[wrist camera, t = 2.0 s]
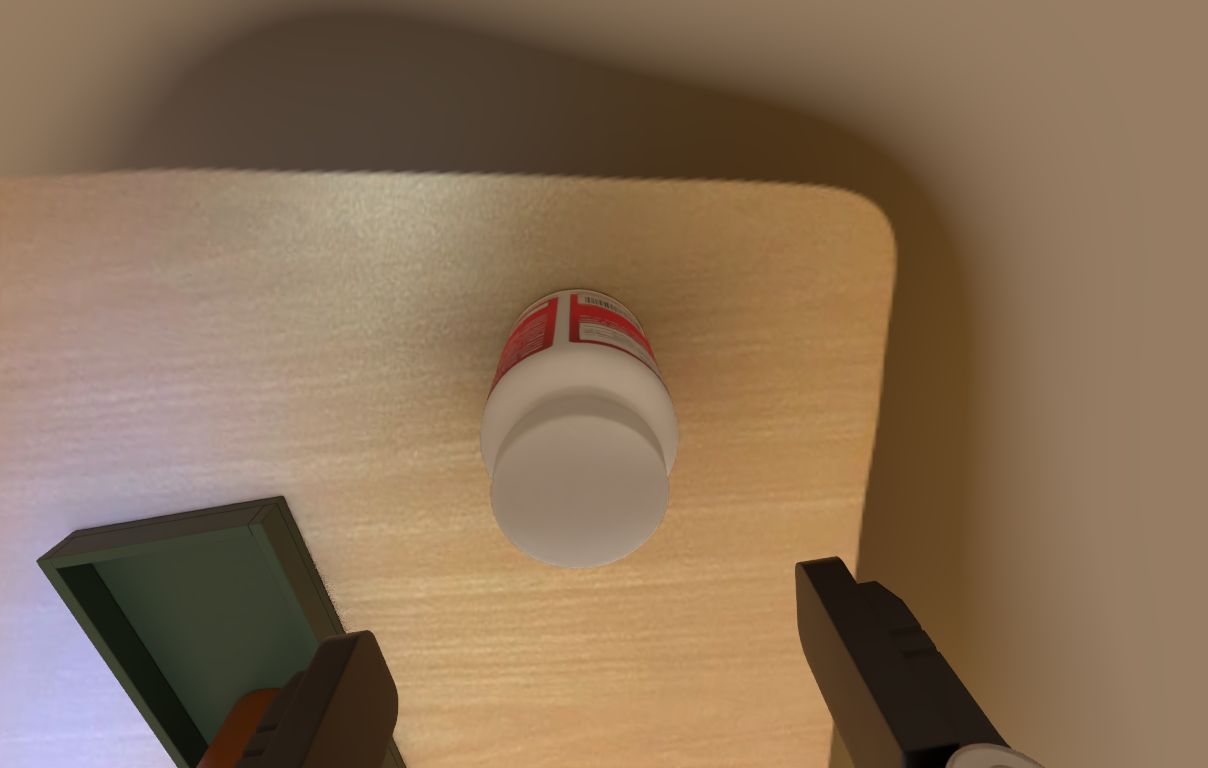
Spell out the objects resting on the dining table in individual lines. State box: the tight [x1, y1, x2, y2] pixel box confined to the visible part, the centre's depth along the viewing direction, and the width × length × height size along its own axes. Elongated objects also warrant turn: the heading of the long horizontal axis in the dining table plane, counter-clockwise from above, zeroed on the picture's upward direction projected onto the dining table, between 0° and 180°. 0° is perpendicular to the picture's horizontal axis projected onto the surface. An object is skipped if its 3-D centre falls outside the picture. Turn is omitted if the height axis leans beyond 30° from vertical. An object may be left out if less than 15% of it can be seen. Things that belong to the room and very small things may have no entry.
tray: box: [36, 497, 406, 768], centre depth 31 cm, size 10×27×2 cm, turn 9°
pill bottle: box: [480, 289, 678, 569], centre depth 20 cm, size 6×6×11 cm
